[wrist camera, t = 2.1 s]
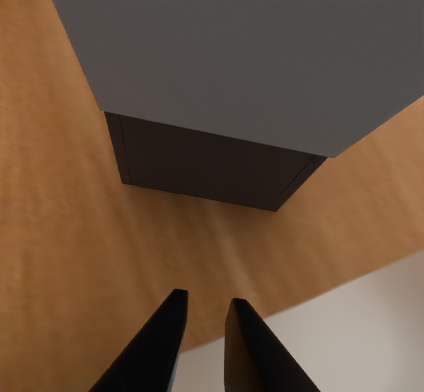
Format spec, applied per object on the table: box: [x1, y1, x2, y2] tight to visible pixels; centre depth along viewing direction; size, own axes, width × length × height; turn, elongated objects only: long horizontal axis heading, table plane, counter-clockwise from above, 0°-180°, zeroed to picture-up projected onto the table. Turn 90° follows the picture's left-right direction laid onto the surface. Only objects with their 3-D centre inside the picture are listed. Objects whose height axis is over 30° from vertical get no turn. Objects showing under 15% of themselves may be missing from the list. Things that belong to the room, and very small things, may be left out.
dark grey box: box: [104, 111, 328, 211], centre depth 24 cm, size 14×13×9 cm
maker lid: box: [52, 0, 424, 158], centre depth 9 cm, size 14×13×1 cm
